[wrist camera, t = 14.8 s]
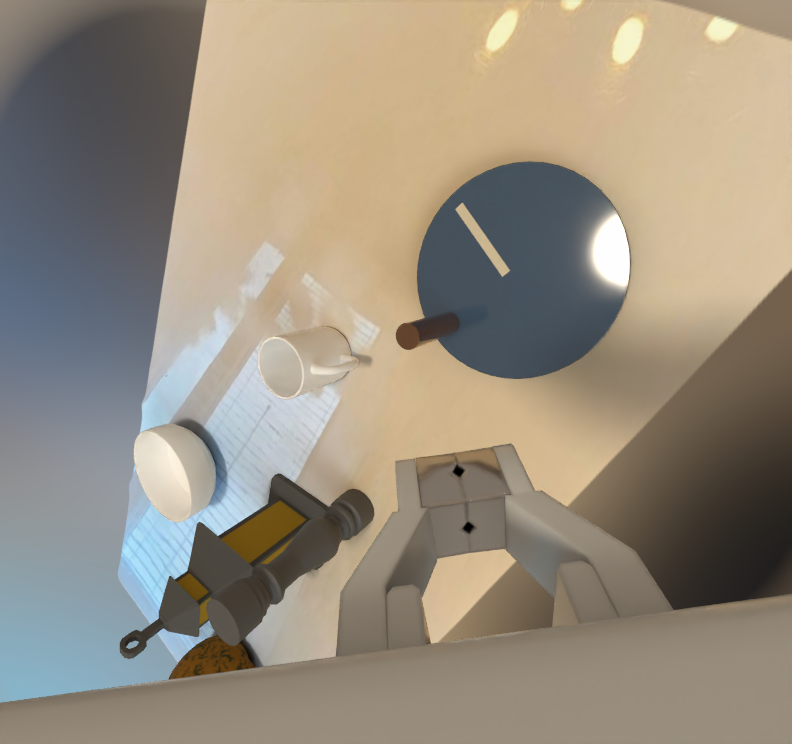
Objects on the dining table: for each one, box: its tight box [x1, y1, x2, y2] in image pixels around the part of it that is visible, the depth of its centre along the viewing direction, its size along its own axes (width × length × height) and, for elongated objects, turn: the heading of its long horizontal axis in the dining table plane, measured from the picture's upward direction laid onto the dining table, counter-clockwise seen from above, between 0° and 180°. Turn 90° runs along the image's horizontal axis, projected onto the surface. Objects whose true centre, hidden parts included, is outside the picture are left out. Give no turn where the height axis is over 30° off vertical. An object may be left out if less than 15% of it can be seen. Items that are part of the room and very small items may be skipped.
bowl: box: [134, 424, 216, 522], centre depth 83 cm, size 20×20×8 cm
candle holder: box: [206, 489, 374, 646], centre depth 54 cm, size 6×6×25 cm
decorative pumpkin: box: [169, 636, 256, 680], centre depth 90 cm, size 20×21×20 cm
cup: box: [258, 327, 359, 399], centre depth 55 cm, size 8×12×10 cm
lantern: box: [120, 474, 329, 659], centre depth 61 cm, size 14×14×30 cm
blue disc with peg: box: [396, 162, 630, 379], centre depth 38 cm, size 22×22×11 cm
